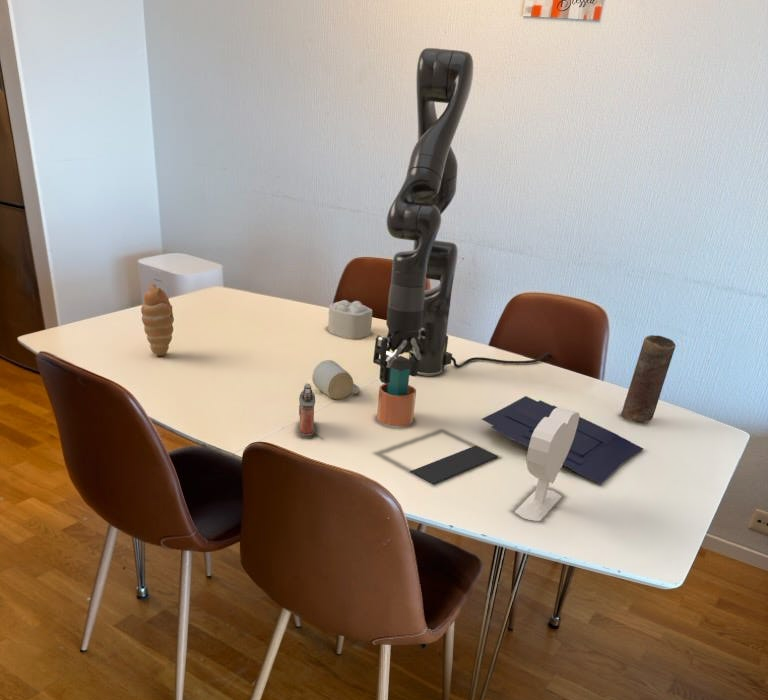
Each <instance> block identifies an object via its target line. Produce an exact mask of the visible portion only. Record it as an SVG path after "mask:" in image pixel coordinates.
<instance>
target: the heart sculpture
mask: <svg viewBox="0 0 768 700" xmlns="http://www.w3.org/2000/svg"><path fill="white" fill-rule="evenodd" d="M556 407H557V408H555V409H554V410H553V411H552V412H551V414H550V416H549V418H548V417H544V418H543V419H542V420H541V421H540V423H539V424H538V425H537V427H536V428H535V430H534V432H533V434H532V436H531V440H530V444H529V447H527V455H526V469H527V471H528V472H529V474H530V475H532V476H533V477H534V478H536V479H538V480H537V484H536V488H535V490H533V492H532V493H531V494H530V495H529V496H528V497H527V498H526V499H525V500H524V501H523V502H522V503H521V505H519V506H518V508H516V509H515V511H514V513H515V514H516V515H518V516H520V517H521V518H522V519H524V520H529V521H536V522H541V521H542V520H543V519H544V517H545V516H546V515H547V514H548V513H549V512H550V510H551V509H552V508H554V505H556V504H557V503H558V502H559V501H560V500H561V498H562V495H560V494H559V493H558V492H557V491H554V490H553V489H549V486H550V483H551V484H554V482H555V480H556V478H557V476H558V474H559V473H560V472H561V471H560V470H561V469H562V467H563V466H564V465H563V463H564V461H565V459H566V457H567V454H568V452H569V450H570V447H571V444H572V442H573V439H574V436H575V433H576V429H577V426H578V421H579V417H581V416H580V413H579V412H578V411H574V410H572V409H571V410H570V409H568V408H564V407H559V406H556Z"/></svg>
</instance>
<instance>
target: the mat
mask: <svg viewBox="0 0 768 700" xmlns="http://www.w3.org/2000/svg"><path fill="white" fill-rule="evenodd" d="M498 457H499V455H497V454H495V453H493V452H491V451H489V450H486V449H484V448H483V447H480V446H479V445H473V446H471V447H469V448H466V449H463V450H460V451H458V452H455V453H453V454H450V455H447V456H445V457H443V458H440V459H437V460H435V461H433V462H430V463H428V464H425V465H422V466H420V467H418V468H415V469H411V470H409V473H412V474H413V475H415V476H417V477H419V478H421V479H423V480H425V481H426V482H428V483H430V484H432V485H436V484H438V483H441V482H444V481H446V480H448V479H450V478H453V477H455V476H457V475H460V474H462V473H464V472H466V471H467V472H468V471H470V470H471V469H474V468H477V467H479V466H481V465H483V464H486V463H488V462H490V461H493V460H495V459H497V458H498Z"/></svg>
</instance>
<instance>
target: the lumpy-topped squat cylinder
mask: <svg viewBox="0 0 768 700" xmlns="http://www.w3.org/2000/svg"><path fill="white" fill-rule="evenodd" d="M372 322H373V309H372V308H371V307H368V306H366V305H364V304H363V303H362V302H361V301H359V300H354V301H352V302H349V300H346V299H343V300H340V301H336V302H333V303H330V304H329V306H328V322H327V323H328V324H327V325H328V327H327V330H328V332H330V333H331V334H332V335H335V336H337V337H342V338H345V339H349V340H360V339H363V338H364V337H365V338H366V337H368V336H371V334H372Z"/></svg>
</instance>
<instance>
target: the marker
mask: <svg viewBox="0 0 768 700" xmlns="http://www.w3.org/2000/svg"><path fill="white" fill-rule="evenodd" d="M410 363H411V360H410V359H409V358H407V357H405V356H402V355H399V356H398V357H397V359H395V360H394V361H393V363H392V364H391V366H390V367H391V372H390V382H389V383H388V391H387V393H388V394H391V395H397V396H405V395H407V392H408V385H409V381H410V375H409V373H410Z"/></svg>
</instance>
